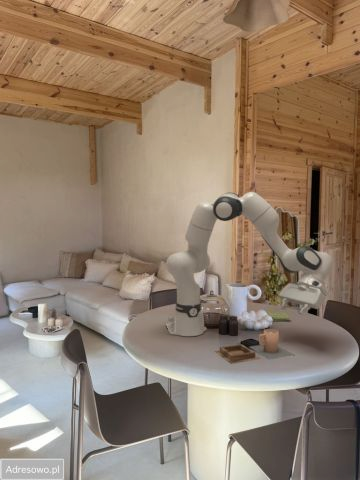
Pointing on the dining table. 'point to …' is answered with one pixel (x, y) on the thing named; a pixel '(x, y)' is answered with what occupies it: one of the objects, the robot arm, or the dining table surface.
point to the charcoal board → (280, 353)
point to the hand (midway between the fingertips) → (291, 310)
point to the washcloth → (279, 316)
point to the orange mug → (269, 340)
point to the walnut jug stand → (237, 353)
